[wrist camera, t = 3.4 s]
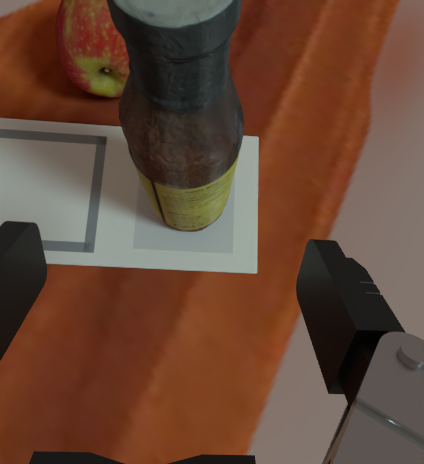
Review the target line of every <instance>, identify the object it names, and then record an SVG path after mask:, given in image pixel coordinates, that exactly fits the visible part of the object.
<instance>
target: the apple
mask: <svg viewBox="0 0 424 464" xmlns="http://www.w3.org/2000/svg"><path fill="white" fill-rule="evenodd" d="M56 44H57V51H58V55H59V59H60V62H61V65H62V67H63V69H64V71H65V73H66V74H67V76H68V77H69V78H70V80H71V81H72V82H73V83H74V84H75V85H76V86H77V87H79V88H80V89H82V90H84V91H85V92H87V93H89V94H93V95H97V96H102V97H109V98H120V97H121V95H122V92H123V89H124V87H125V84H126V81H127V78H128V76H129V73H130V70H129V56H128V53H127V49H126V44H125V41H124V38H123V37H122V36H121V34H120V33H119V32H118V31H117V29H116V28H115V26H114V23H113V21H112V19H111V14H110V11H109V7H108V4H107V0H62V1H61V4H60V6H59V10H58V14H57V21H56Z"/></svg>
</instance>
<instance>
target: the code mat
mask: <svg viewBox="0 0 424 464" xmlns="http://www.w3.org/2000/svg"><path fill="white" fill-rule="evenodd" d="M258 145H259V137H253V136H243V140H242V145H241V149H240V153H239V157H238V161H237V165H236V169H235V173H234V177H233V181H232V185H231V189H230V193H229V197H228V200H227V203H226V206H225V208H224V210H223V212H222V214H221V216H220V217H219V218H218V219H217V220H216V221H215V222H214V223H212V224H211V225H210V226H208V227H207V228H205V229H203V230H202V231H197V232H181V231H177V230H174V229H172V228H169V227H168V226H167V225H166V224H165V223H164V222H163V221H162V220H161V219H160V218H159V217H158V216H157V215H156V214H155V212H154V211H153V209H152V207H151V204H150V202H149V199H148V197H147V195H146V192H145V190H144V187H143V185H142V183H141V180H140V178H139V175H138V173H137V170H136V168H135V166H134V163H133V161H132V159H131V156H130V153H129V149H128V143H127V141H126V138H125V136H124V133H123V131H122V127H117V126H104V125H90V124H76V123H63V122H49V121H35V120H22V119H8V118H0V226H1V225H2V224H3V223H4V222H5V221H19V222H34V223H36V224H37V226H38V228H39V231H40V236H41V240H42V245H43V250H44V255H45V259H46V264H64V265H85V266H105V267H126V268H147V269H168V270H189V271H210V272H231V273H252V274H257V235H258Z"/></svg>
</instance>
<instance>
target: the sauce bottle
mask: <svg viewBox="0 0 424 464" xmlns="http://www.w3.org/2000/svg"><path fill="white" fill-rule="evenodd" d="M107 4H108V7H109V11H110V14H111V19H112V21H113V23H114V26H115V28H116V29H117V31H118V32H119V33H120V34H121V36H122V37H123V38H124V41H125V44H126V49H127V53H128V56H129V70H130V73H129V76H128V78H127V81H126V84H125V87H124V89H123V92H122V95H121V97H120V103H119V119H120V122H121V127H122V131H123V133H124V136H125V138H126V141H127V143H128V149H129V153H130V156H131V159H132V161H133V163H134V166H135V168H136V170H137V173H138V175H139V178H140V180H141V183H142V185H143V187H144V190H145V192H146V195H147V197H148V199H149V202H150V204H151V207H152V209H153V211H154V212H155V214H156V215H157V216H158V217H159V218H160V219H161V220H162V221H163V222H164V223H165V224H166V225H167V226H168V227H169V228H172V229H174V230H177V231H181V232H197V231H202V230H203V229H205V228H207V227H208V226H210V225H211V224H212V223H214V222H215V221H216V220H217V219H218V218H219V217H220V216H221V214H222V212H223V210H224V208H225V206H226V203H227V200H228V197H229V193H230V189H231V185H232V181H233V177H234V173H235V169H236V165H237V161H238V157H239V153H240V149H241V145H242V140H243V132H244V117H243V111H242V107H241V104H240V101H239V98H238V95H237V92H236V89H235V86H234V82H233V79H232V77H231V74H230V71H229V63H228V56H229V46H230V40H231V34H232V32H233V31H234V29H235V27H236V25H237V23H238V20H239V17H240V9H241V0H107Z"/></svg>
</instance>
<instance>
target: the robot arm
mask: <svg viewBox="0 0 424 464" xmlns="http://www.w3.org/2000/svg"><path fill="white" fill-rule="evenodd" d="M46 276H47V264H46V259H45V255H44V250H43V245H42V240H41V236H40V231H39V228H38V226H37V224H36V223H34V222H19V221H5V222H4V223H3V224H2V225H1V226H0V361H1V359H2V357H3V355H4V354H5V352H6V350H7V348H8V347H9V345H10V343H11V341H12V340H13V338H14V336H15V335H16V333H17V331H18V329H19V328H20V326H21V324H22V322H23V321H24V319H25V317H26V316H27V314H28V312H29V310H30V309H31V307H32V305H33V303H34V302H35V300H36V298H37V297H38V295H39V293H40V291H41V290H42V288H43V286H44V284H45V281H46ZM373 283H374V282H373V280H372V278H371V277H370V275H369V274H368V272H367V270H366V269H365V268H364V267H362V266H361V265H360V264H359V263H357V262H356V261H355V260H354V259H353V258H346V257H345V255H344V253H343V252H342V250H341V248H340V246H339V245H338V243H337V242H336V241H332V240H315V239H310V240H309V241H308V243H307V245H306V249H305V252H304V256H303V260H302V263H301V267H300V271H299V274H298V278H297V284H296V293H297V299H298V302H299V305H300V308H301V311H302V314H303V317H304V320H305V323H306V326H307V329H308V332H309V335H310V339H311V341H312V345H313V348H314V350H315V354H316V357H317V360H318V363H319V366H320V369H321V372H322V375H323V378H324V381H325V384H326V387H327V390H328V393H329V394H345V397H346V399H347V402H348V404H347V406H346V408H345V410H344V413H343V415H342V418H341V420H340V423H339V425H338V427H337V429H336V432H335V434H334V437H333V439H332V441H331V444H330V446H329V448H328V451H327V453H326V456H325V458H324V460H323V463H322V464H424V340H422V339H420V338H418V337H416V336H414V335H411V334H407V333H405V331H404V329H403V328H402V326H401V324H400V323H399V322H398V320H397V318H396V317H395V315H394V313H393V312H392V310H391V309H390V307H389V306H388V304H387V302H386V301H385V299H384V298H383V296H382V295H380V291H379V290H378V288H377V286H376V285H375V284H373ZM29 464H124V463H121V462H118V461H115V460H111V459H108V458H105V457H102V456H99V455H96V454H93V453H90V452H36V451H34V452H33V455H32V457H31V460H30V463H29ZM169 464H256V463H255V456H252V455H199V456H195V457H191V458H187V459H184V460H180V461H176V462H173V463H169Z"/></svg>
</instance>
